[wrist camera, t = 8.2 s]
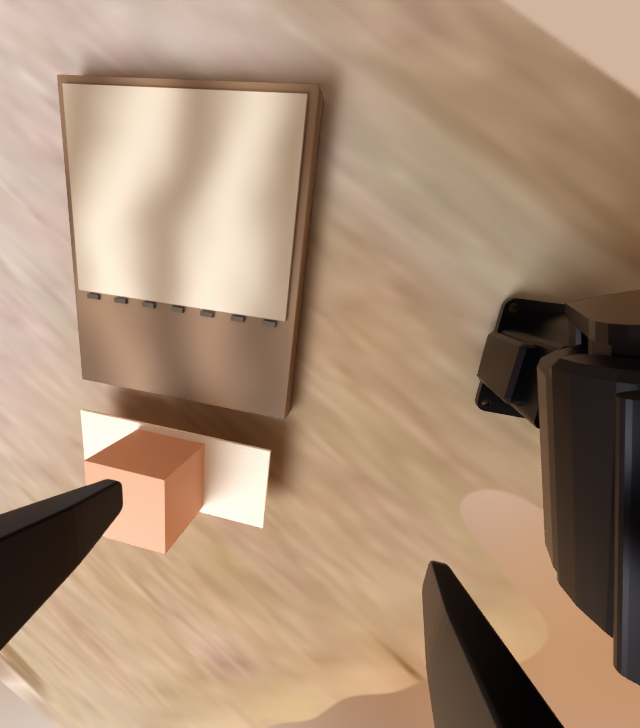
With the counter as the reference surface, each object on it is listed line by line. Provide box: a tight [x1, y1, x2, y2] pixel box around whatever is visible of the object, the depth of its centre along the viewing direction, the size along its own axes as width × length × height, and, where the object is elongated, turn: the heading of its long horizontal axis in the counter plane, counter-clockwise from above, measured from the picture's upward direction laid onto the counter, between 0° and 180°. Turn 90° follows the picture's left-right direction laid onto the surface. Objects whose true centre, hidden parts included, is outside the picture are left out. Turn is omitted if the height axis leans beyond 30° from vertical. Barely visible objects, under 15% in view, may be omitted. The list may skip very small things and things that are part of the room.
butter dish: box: [81, 409, 271, 554], centre depth 19 cm, size 14×6×4 cm, turn 83°
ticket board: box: [57, 75, 324, 419], centre depth 19 cm, size 15×18×2 cm
